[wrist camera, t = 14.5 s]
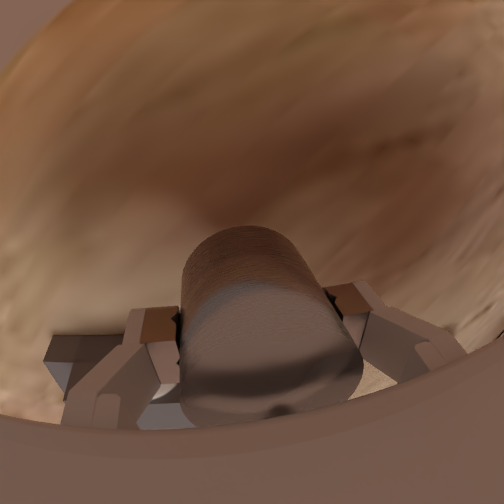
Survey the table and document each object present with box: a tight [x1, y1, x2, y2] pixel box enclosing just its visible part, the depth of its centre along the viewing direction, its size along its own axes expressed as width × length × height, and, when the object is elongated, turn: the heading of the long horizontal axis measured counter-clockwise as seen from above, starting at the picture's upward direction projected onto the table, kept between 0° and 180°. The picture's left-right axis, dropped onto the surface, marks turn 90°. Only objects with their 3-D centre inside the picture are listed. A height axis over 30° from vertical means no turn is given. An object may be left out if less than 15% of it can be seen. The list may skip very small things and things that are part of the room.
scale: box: [43, 335, 196, 429], centre depth 20 cm, size 15×18×6 cm
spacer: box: [179, 226, 364, 427], centre depth 9 cm, size 4×4×5 cm
